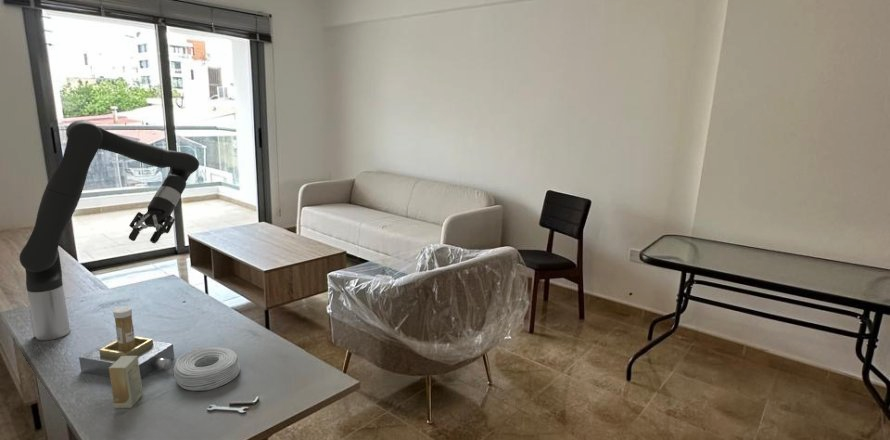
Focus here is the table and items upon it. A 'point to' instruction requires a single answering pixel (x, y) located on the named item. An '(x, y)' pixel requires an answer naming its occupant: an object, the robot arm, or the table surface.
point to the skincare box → (125, 381)
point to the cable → (206, 368)
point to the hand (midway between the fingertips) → (141, 241)
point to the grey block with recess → (146, 349)
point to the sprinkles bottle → (124, 329)
